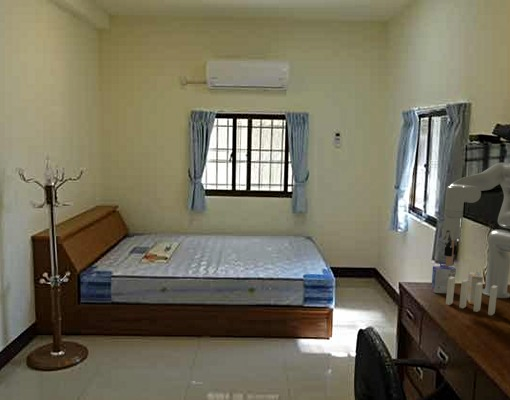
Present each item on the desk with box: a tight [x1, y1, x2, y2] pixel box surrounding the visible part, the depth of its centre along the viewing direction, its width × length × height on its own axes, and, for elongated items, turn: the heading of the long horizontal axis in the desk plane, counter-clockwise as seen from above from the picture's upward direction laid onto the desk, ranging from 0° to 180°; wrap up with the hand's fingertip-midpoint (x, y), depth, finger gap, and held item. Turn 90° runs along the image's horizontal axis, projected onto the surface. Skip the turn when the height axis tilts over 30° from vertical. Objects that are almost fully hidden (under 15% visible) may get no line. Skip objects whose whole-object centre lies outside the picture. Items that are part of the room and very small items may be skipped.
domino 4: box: [472, 282, 484, 313], centre depth 225 cm, size 4×2×12 cm, turn 140°
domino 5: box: [487, 285, 498, 316], centre depth 221 cm, size 4×2×12 cm, turn 140°
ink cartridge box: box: [430, 261, 457, 294], centre depth 250 cm, size 10×6×14 cm, turn 89°
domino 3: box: [458, 278, 469, 309], centre depth 229 cm, size 4×2×12 cm, turn 140°
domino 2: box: [445, 276, 456, 306], centre depth 233 cm, size 4×2×12 cm, turn 140°
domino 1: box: [445, 239, 455, 267], centre depth 228 cm, size 4×2×12 cm, turn 142°
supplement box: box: [467, 271, 484, 305], centre depth 237 cm, size 8×5×13 cm, turn 168°
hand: (450, 254), depth 228 cm, fingers closed on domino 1, 4 cm apart
